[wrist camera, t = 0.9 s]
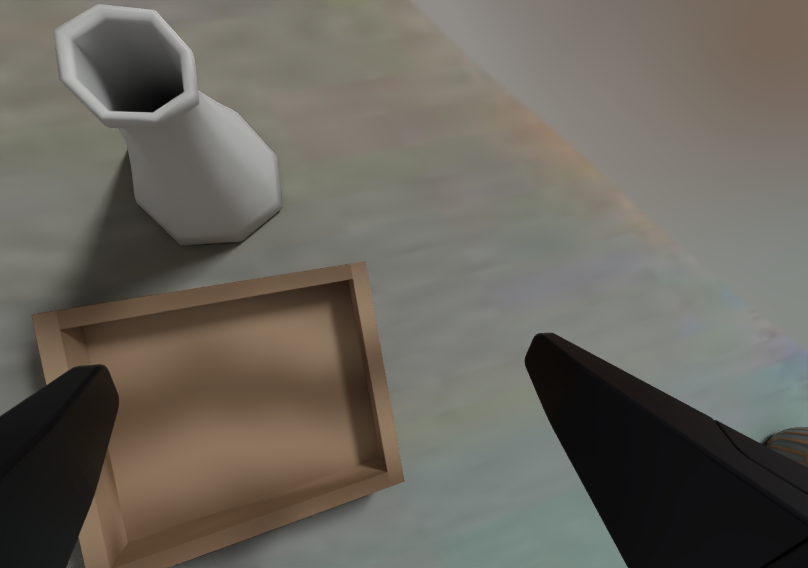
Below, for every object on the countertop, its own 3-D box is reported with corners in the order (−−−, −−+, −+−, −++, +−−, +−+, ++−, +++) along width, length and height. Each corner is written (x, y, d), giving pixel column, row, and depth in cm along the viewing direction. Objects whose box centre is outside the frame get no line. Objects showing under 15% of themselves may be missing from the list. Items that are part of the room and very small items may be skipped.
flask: (305, 217, 20) (316, 151, 11) (172, 269, 18) (39, 244, 9) (248, 95, 19) (205, -94, 10) (102, 134, 17) (-129, -56, 8)
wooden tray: (391, 460, 21) (404, 481, 19) (119, 553, 17) (91, 595, 15) (357, 264, 21) (365, 261, 19) (68, 311, 17) (31, 314, 14)
